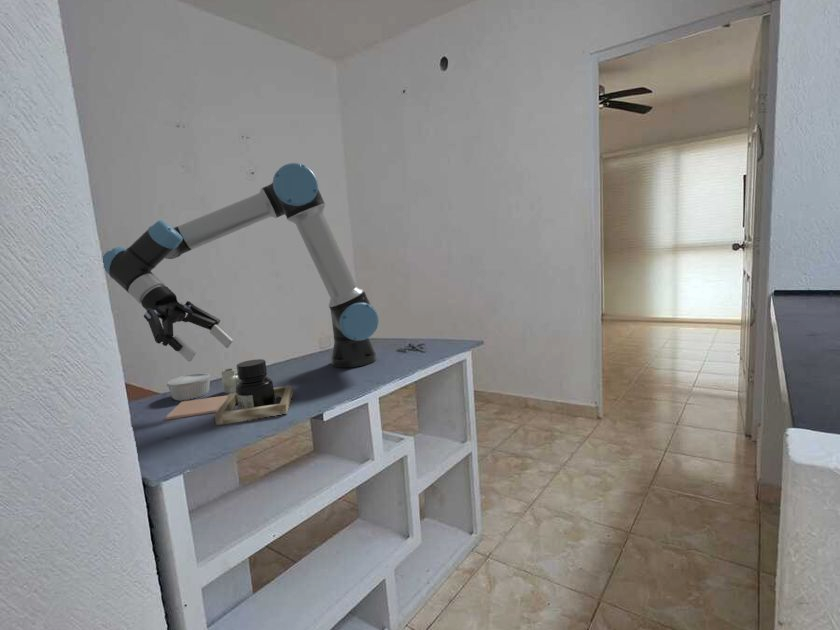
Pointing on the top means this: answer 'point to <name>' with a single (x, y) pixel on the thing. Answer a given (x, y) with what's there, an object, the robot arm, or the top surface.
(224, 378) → the valve
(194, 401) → the terracotta tile
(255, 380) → the ink bottle
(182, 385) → the ramekin
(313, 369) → the top surface
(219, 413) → the birch collar
